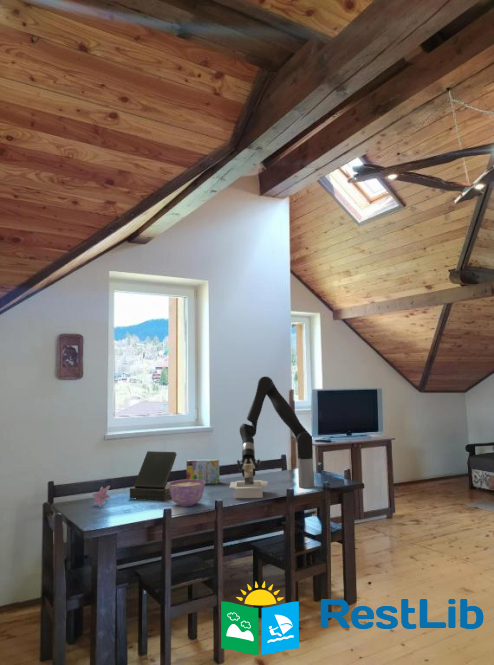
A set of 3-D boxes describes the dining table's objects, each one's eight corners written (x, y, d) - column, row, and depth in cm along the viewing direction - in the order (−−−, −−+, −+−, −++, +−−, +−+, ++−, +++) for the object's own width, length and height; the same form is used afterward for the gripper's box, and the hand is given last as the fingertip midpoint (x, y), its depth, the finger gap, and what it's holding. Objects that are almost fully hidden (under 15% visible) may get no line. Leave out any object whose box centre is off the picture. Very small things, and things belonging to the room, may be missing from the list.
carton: (267, 490, 286) (267, 480, 286) (268, 498, 264) (267, 487, 265) (231, 491, 286) (231, 481, 287) (229, 499, 265) (229, 488, 265)
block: (253, 482, 279) (252, 463, 280) (253, 484, 274) (252, 464, 275) (245, 482, 279) (244, 463, 280) (244, 484, 274) (243, 465, 275)
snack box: (219, 482, 315) (219, 458, 317) (218, 483, 310) (217, 460, 311) (188, 482, 317) (187, 459, 319) (186, 484, 312) (186, 460, 313)
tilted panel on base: (129, 499, 274) (129, 455, 276) (147, 492, 292) (147, 450, 295) (164, 501, 266) (164, 456, 269) (181, 494, 284) (180, 451, 287)
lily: (91, 504, 266) (86, 491, 263) (111, 493, 272) (106, 480, 268) (98, 515, 257) (93, 502, 253) (118, 504, 262) (113, 490, 259)
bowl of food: (160, 505, 255) (160, 483, 256) (188, 498, 270) (188, 477, 271) (185, 511, 242) (185, 488, 243) (213, 503, 257) (213, 481, 258)
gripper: (236, 448, 286) (236, 472, 273) (259, 447, 286) (261, 471, 272) (236, 456, 291) (236, 480, 277) (260, 455, 290) (261, 479, 277)
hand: (248, 475), depth 275 cm, fingers closed on block, 5 cm apart
